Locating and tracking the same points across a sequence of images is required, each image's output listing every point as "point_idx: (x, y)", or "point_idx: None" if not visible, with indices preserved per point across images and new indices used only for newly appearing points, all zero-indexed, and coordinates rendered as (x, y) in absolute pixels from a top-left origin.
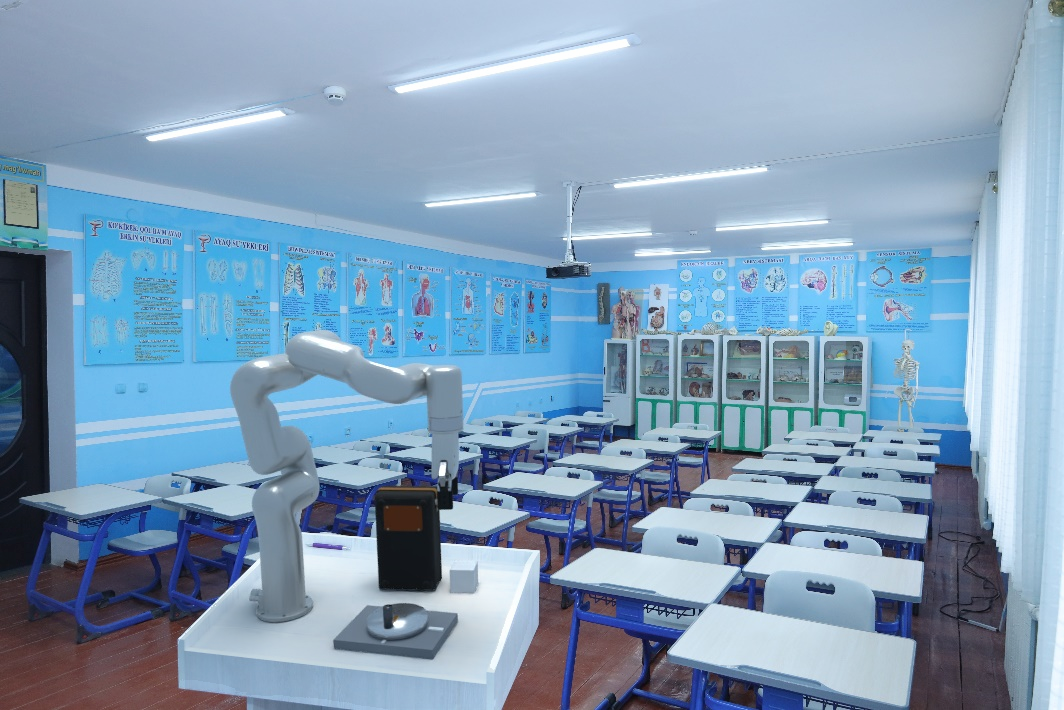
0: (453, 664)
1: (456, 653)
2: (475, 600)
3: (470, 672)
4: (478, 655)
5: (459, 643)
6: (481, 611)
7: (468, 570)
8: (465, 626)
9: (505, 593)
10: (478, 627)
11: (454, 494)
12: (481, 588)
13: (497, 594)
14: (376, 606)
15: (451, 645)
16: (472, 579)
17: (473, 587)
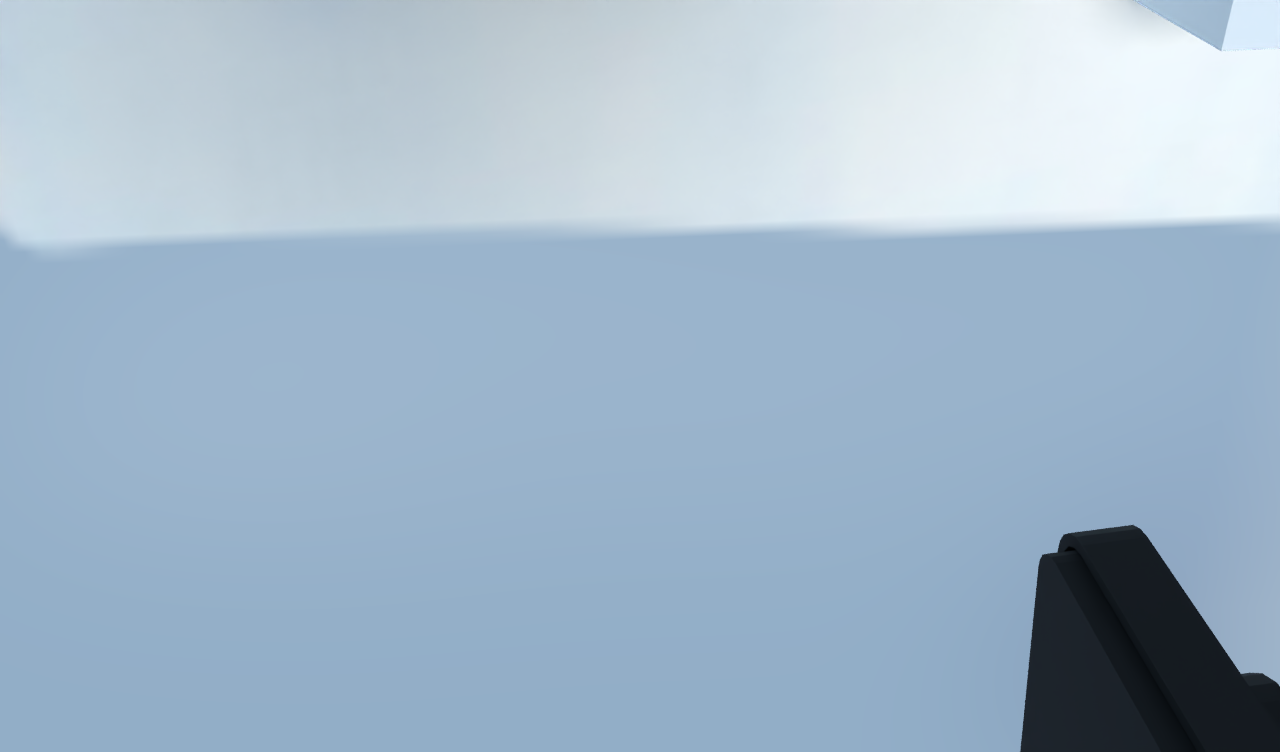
0: (109, 79)
1: (244, 66)
2: (1008, 31)
3: (58, 201)
4: (257, 207)
5: (374, 56)
6: (832, 110)
7: (1231, 2)
8: (610, 44)
9: (1094, 219)
10: (604, 136)
11: (1022, 747)
12: None
13: (1086, 169)
14: None
15: (337, 7)
16: (1184, 15)
17: (1150, 4)
